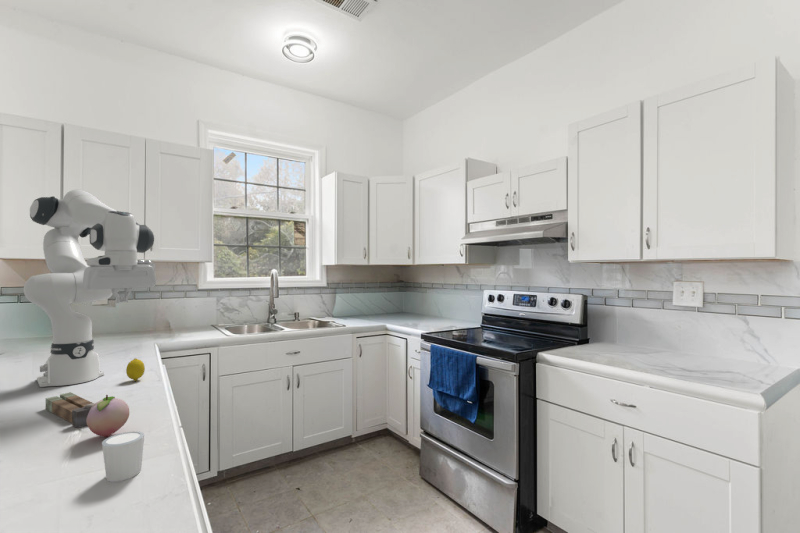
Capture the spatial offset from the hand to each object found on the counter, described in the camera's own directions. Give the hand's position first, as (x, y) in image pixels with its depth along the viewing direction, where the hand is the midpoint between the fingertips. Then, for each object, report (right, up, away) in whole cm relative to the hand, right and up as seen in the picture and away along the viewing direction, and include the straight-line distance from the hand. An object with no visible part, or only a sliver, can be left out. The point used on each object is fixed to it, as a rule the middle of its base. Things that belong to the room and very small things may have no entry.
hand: (121, 302), depth 132 cm
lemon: (-3, -29, +12) cm, 32 cm away
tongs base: (+1, -29, -21) cm, 36 cm away
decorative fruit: (+22, -29, -36) cm, 51 cm away
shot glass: (+38, -29, -54) cm, 72 cm away
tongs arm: (0, -29, -18) cm, 34 cm away
